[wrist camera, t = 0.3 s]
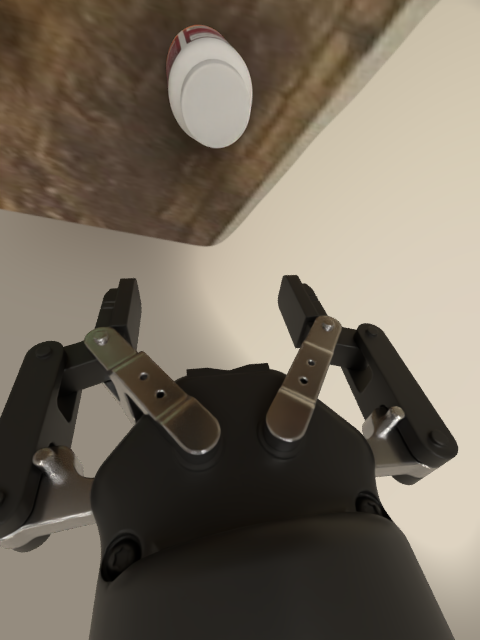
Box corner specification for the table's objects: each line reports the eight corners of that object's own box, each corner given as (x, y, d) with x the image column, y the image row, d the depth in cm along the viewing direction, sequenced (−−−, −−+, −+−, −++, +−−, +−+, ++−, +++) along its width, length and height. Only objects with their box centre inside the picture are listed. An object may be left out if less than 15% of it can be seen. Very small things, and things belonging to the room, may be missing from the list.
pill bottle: (196, 128, 29) (207, 177, 22) (150, 60, 24) (146, 97, 18) (248, 83, 27) (277, 123, 20) (207, 1, 22) (227, 16, 15)
